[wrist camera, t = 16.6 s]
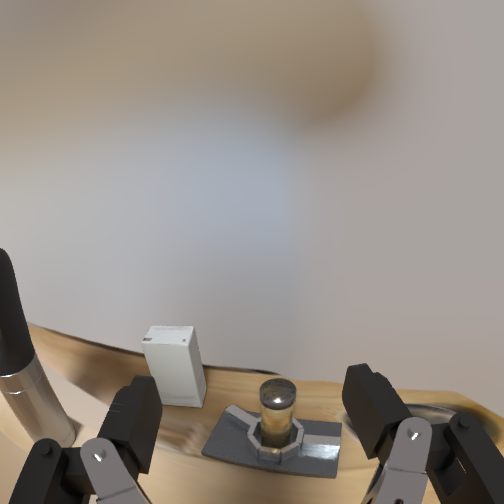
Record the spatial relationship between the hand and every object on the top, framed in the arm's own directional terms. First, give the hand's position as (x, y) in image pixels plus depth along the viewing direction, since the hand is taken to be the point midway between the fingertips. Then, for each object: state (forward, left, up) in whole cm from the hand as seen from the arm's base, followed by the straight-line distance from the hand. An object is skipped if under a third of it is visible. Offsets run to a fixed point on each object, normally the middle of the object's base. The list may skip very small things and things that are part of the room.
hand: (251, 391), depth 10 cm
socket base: (-2, +18, -30) cm, 35 cm away
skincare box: (-21, +24, -30) cm, 44 cm away
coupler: (-2, +18, -29) cm, 34 cm away
